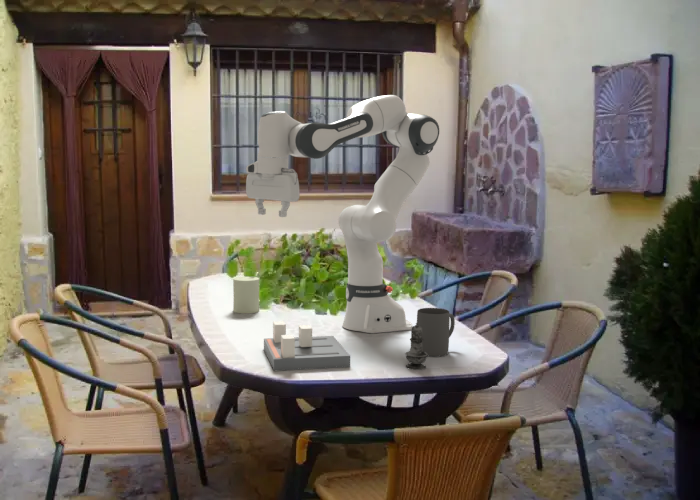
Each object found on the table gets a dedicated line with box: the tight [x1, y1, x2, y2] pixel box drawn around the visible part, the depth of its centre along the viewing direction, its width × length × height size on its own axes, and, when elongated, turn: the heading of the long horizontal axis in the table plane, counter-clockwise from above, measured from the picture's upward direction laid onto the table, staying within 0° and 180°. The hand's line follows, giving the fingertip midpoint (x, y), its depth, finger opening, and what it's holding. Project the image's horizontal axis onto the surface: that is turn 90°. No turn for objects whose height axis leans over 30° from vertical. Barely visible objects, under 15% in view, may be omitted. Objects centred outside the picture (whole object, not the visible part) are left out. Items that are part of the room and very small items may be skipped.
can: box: [232, 276, 260, 315], centre depth 263 cm, size 9×9×12 cm
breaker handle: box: [298, 324, 313, 347], centre depth 204 cm, size 3×4×5 cm
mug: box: [416, 307, 456, 358], centre depth 212 cm, size 14×9×12 cm
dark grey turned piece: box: [404, 322, 428, 371], centre depth 196 cm, size 6×6×12 cm
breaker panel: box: [263, 320, 351, 371], centre depth 204 cm, size 20×22×8 cm
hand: (272, 215), depth 218 cm, fingers open, 8 cm apart
